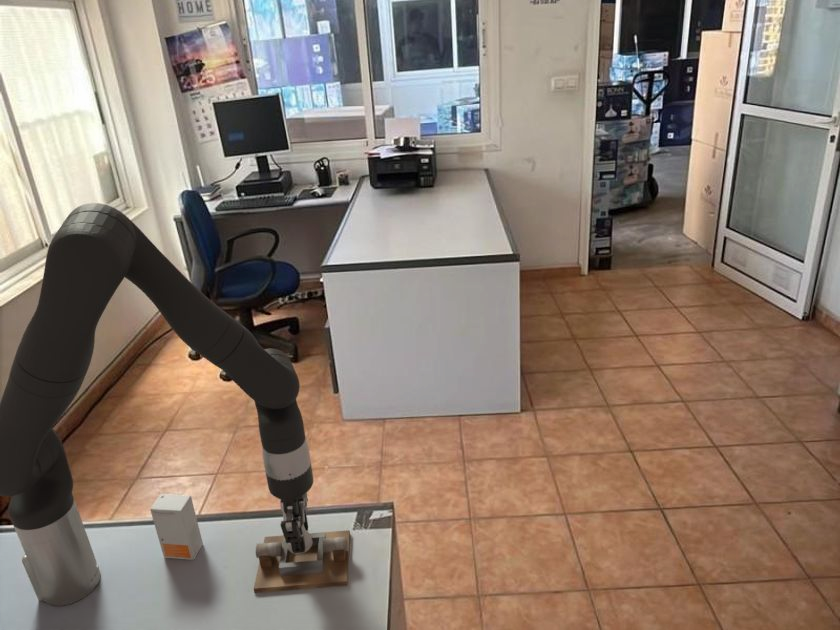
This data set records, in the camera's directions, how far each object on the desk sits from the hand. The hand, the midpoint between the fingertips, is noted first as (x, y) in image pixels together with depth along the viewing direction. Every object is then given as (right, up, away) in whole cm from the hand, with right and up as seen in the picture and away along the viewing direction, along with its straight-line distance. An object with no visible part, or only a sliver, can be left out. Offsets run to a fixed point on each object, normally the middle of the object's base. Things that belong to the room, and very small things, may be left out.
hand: (300, 540), depth 114 cm
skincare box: (-23, -4, +6) cm, 24 cm away
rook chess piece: (0, -1, +1) cm, 1 cm away
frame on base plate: (0, -5, +3) cm, 5 cm away
